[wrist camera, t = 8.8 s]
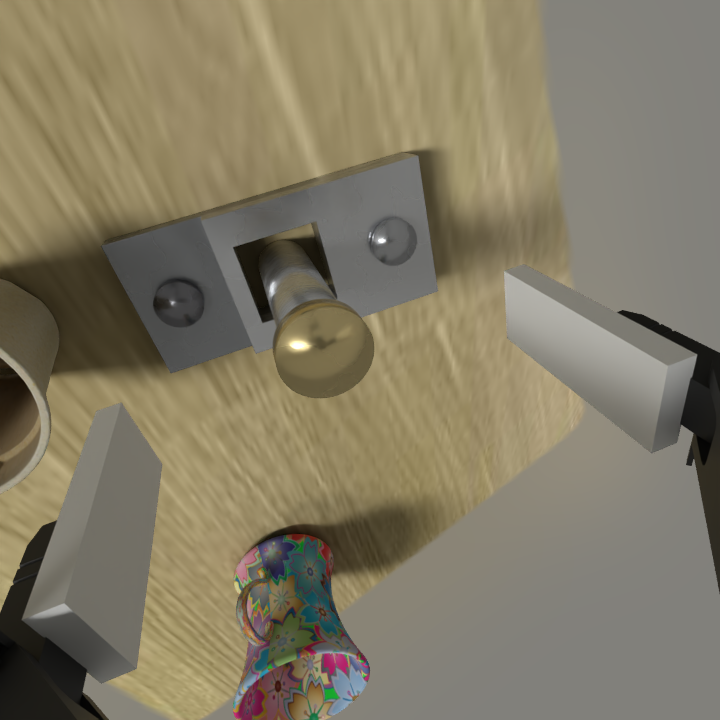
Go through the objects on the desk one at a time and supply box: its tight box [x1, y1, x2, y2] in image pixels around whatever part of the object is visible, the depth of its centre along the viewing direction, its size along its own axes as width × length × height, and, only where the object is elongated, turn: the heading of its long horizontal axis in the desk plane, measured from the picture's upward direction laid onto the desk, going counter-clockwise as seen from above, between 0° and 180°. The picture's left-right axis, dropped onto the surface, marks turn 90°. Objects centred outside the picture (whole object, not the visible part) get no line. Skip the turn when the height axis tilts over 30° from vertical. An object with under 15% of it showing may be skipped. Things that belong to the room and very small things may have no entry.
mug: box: [233, 534, 370, 720], centre depth 34 cm, size 12×9×11 cm
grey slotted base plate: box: [101, 152, 438, 373], centre depth 26 cm, size 8×17×3 cm, turn 103°
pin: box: [259, 240, 374, 398], centre depth 22 cm, size 4×4×12 cm
